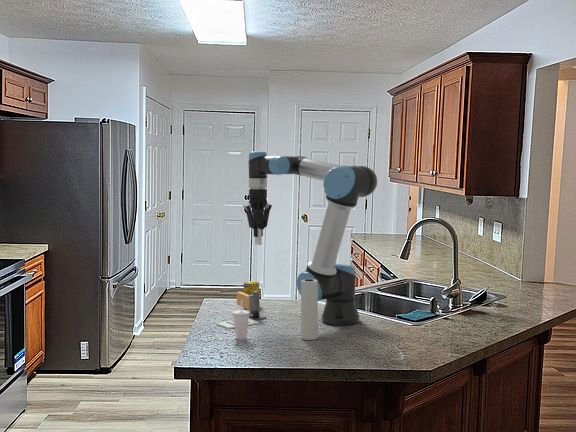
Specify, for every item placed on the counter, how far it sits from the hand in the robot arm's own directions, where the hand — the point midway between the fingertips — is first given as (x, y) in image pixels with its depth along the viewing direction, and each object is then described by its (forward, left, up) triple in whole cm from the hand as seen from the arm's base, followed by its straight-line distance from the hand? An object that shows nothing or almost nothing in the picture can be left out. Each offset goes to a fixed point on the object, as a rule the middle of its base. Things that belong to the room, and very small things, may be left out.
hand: (258, 244), depth 277 cm
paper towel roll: (-45, +8, -30) cm, 54 cm away
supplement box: (+13, -5, -30) cm, 33 cm away
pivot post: (-7, +6, -29) cm, 31 cm away
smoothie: (-30, +28, -30) cm, 51 cm away
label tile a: (-11, +13, -29) cm, 34 cm away
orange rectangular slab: (+3, +4, -28) cm, 29 cm away
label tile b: (-11, +22, -29) cm, 38 cm away
